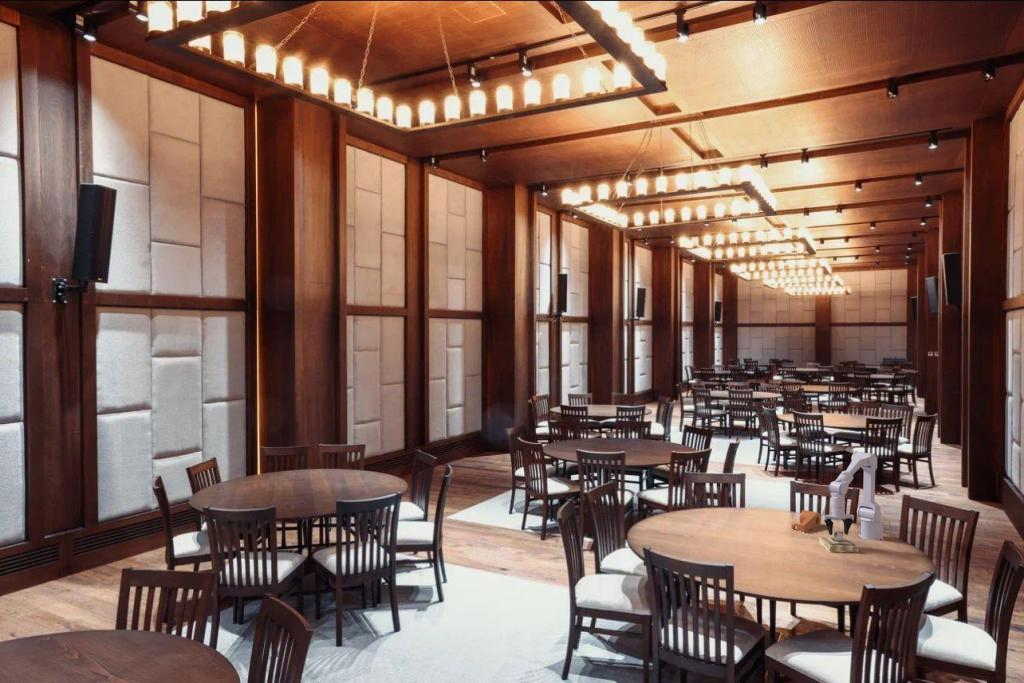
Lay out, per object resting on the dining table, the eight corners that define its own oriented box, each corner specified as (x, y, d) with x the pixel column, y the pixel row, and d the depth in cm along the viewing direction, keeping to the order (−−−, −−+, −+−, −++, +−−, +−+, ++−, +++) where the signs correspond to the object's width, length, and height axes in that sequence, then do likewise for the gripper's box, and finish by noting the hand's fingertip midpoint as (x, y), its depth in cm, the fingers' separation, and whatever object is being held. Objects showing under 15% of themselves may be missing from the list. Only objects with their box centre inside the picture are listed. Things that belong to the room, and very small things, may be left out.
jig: (846, 543, 338) (846, 536, 338) (858, 552, 324) (858, 545, 324) (819, 543, 339) (819, 536, 339) (829, 552, 325) (829, 544, 325)
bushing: (844, 547, 332) (844, 532, 332) (837, 547, 332) (837, 533, 332) (839, 544, 336) (839, 530, 336) (832, 545, 336) (832, 531, 336)
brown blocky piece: (806, 523, 376) (806, 508, 376) (820, 526, 370) (820, 511, 370) (789, 530, 363) (789, 515, 362) (803, 533, 357) (803, 518, 357)
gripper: (848, 504, 338) (848, 531, 339) (819, 504, 338) (819, 532, 338) (856, 507, 331) (856, 535, 332) (826, 508, 331) (826, 536, 331)
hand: (838, 534), depth 334 cm, fingers open, 7 cm apart
